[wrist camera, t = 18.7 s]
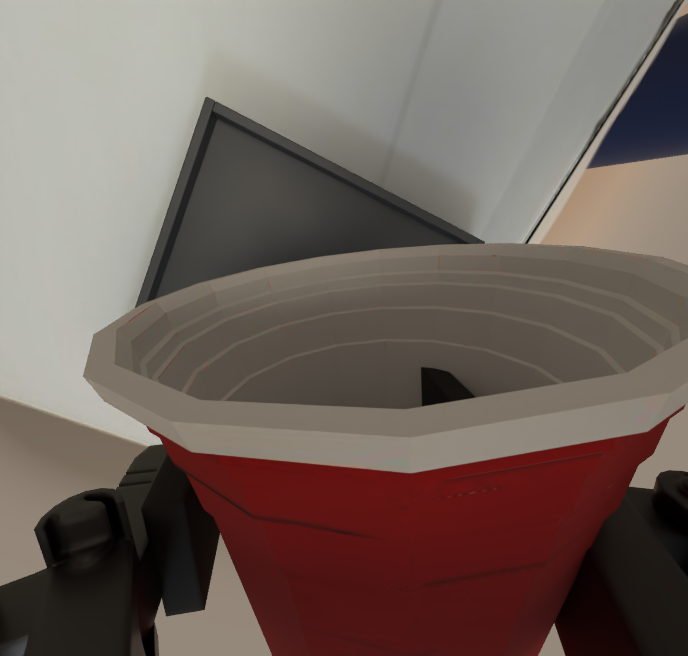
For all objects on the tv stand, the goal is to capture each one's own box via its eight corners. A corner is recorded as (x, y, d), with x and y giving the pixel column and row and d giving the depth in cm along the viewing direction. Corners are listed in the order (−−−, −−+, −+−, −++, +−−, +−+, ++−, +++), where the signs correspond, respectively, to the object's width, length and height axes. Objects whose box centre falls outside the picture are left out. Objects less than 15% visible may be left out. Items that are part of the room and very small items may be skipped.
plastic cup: (198, 566, 15) (139, 254, 11) (441, 496, 18) (455, 235, 14) (170, 1292, 5) (-442, 560, 1) (724, 842, 8) (997, 280, 4)
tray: (470, 239, 31) (485, 242, 28) (368, 435, 35) (374, 451, 32) (213, 106, 25) (205, 95, 23) (128, 356, 29) (114, 368, 27)
